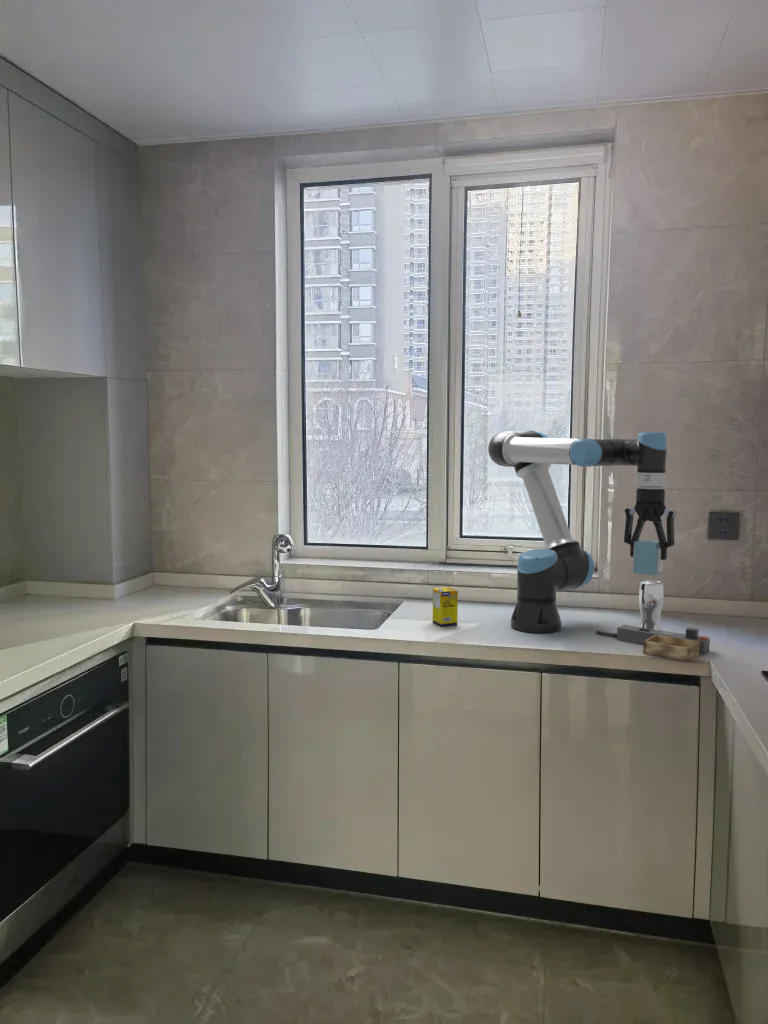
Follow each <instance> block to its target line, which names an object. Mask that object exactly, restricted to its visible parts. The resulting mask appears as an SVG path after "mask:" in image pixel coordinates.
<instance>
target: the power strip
mask: <svg viewBox="0 0 768 1024" xmlns="http://www.w3.org/2000/svg"><path fill="white" fill-rule="evenodd" d="M699 631H700V629H699V628H695V627H690V626H688V627H687V628H685V633H680V632H674V631H667V630H661V629H660V630H655V629H648V628H642V627H640V626H634V625H629V624H623V625H621V626H618V627H617V630H616V632H617V633H613V632H609V631H602V630H595V634H596V635H602V636H606V637H607V636H608V637H613V638H616V641H622V642H628V643H632V644H633V643H634V644H639V645H643V643H644V641H645V640H646V639H648V638H650V637H652V636H653V635H662V636H668V637H674V638H680V639H686V640H692V641H699V642H700V654H699V655H704V656H705V654H707V653H709V651H710V646H711V645H710V644H711V643H710V641H711V639H710V637H708V636H705V635H704V636H703V635H700V636H699Z"/></svg>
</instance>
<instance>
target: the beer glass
mask: <svg viewBox="0 0 768 1024" xmlns="http://www.w3.org/2000/svg"><path fill="white" fill-rule="evenodd" d="M638 603H639V604H638V606H639V611H640V612H639V613H640V624H639V627H642V628H648V629H655V630H661V626H660V624H661V623H660V622H661V621H660V619H661V614H662V610H663V605H664V582H662V581H660V580H659V581H658V580H652V579H651V582H650V583H649V579H646V582H644V580H640V581H639V589H638Z"/></svg>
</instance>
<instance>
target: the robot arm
mask: <svg viewBox="0 0 768 1024" xmlns="http://www.w3.org/2000/svg"><path fill="white" fill-rule="evenodd" d="M637 435H638V436H637V438H636V439H631V438H630V439H627V438H626V439H624V438H622V439H621V438H612V439H611V438H607V439H606V438H605V439H601V438H600V439H595V438H561V437H560V438H559V437H558V438H557V437H555V438H554V437H551V438H549V437H548V436H547V434H545V433H543V432H541V431H536V430H526V431H525V430H522V431H520V430H503V431H500V432H498V433H496V434H495V435H493V436H492V437H491V439H490V441H489V443H488V448H487V450H488V451H487V453H488V455H489V458H490V459H491V460H492V462H493V463H494V464H496V465H498V466H501V467H508V468H509V467H511V468H514V471H515V473H516V476H517V477H518V478H520V479H522V480H523V482H524V487H525V490H526V491H527V496H528V498H529V500H530V504H531V508H532V509H533V513H534V515H535V519H536V521H537V524H538V527H539V530H540V533H541V536H542V539H543V542H544V545H545V548H539V549H529V550H526V551H524V552H522V553H520V554H519V556H518V558H517V560H518V561H517V567H516V569H517V576H516V577H517V578H516V579H517V583H516V585H517V586H516V588H517V590H516V595H517V596H516V603H515V606H514V609H513V611H512V614H511V618H510V627H511V628H512V629H514V630H517V631H520V632H525V633H535V634H537V633H538V634H547V633H548V634H550V633H554V632H558V631H560V630H561V629H562V619H561V617H560V612H559V609H558V605H557V592H558V591H563V590H564V591H565V590H571V589H572V590H573V589H574V590H575V589H578V588H582V587H584V586H586V585H587V584H588V583H590V582H591V580H592V578H593V575H594V573H595V562H594V559H593V556H592V555H591V554H590V553H589V552H588V551H586V550H584V549H582V548H581V545H580V543H579V541H578V540H577V539H574V538H573V537H572V535H571V531H570V527H569V525H568V523H567V519H566V517H565V514H564V511H563V509H562V506H561V503H560V500H559V497H558V495H557V492H556V488H555V485H554V482H553V481H552V478H551V475H550V472H549V469H550V468H551V466H552V465H565V466H566V465H569V466H579V467H585V468H588V467H589V468H590V467H605V466H606V467H610V466H611V467H617V466H625V467H627V466H633V467H636V486H637V487H638V488H637V489H636V494H635V501H636V503H635V505H634V507H627V508H625V509H624V513H625V528H624V536H623V542H624V543H625V544H628V545H629V547H630V553H629V554H630V557H631V558H632V559H633V560H632V561H633V562H632V567H633V566H634V541H638V540H640V537H641V534H642V532H643V528H644V525H645V523H646V522H647V521H649V522H653V523H652V524H653V525H654V529H655V532H656V536H657V538H658V541H659V543H660V548H658V554H657V572H661V571H662V572H663V570H664V561H665V560H667V557H668V548H670V547H674V546H675V516H676V510H670V509H667V508H666V506H665V505H666V504H665V502H666V497H665V496H666V489H664V487H666V464H667V463H666V462H667V453H668V451H667V450H668V446H667V435H666V433H665V432H663V431H662V432H659V431H657V432H655V431H652V432H651V431H650V432H649V431H648V432H647V431H646V432H643V431H642V432H639V434H637ZM635 513H636V514H637V516H638V518H637V521H636V525H635V528H634V531H633V525H634V515H635ZM662 516H665V517H666V535H665V531H664V526H663V521H662Z"/></svg>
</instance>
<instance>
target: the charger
mask: <svg viewBox="0 0 768 1024" xmlns="http://www.w3.org/2000/svg"><path fill="white" fill-rule="evenodd" d="M658 548H660V543H659V540H655V539H646V538H645V539H642V538H641V539H639V540H638V541H634V566H633V565H632V570H633V571H632V573H633V574H638V575H643V581H644V582H646V580H647V575H648V580H649V583H650V582H651V580H652V576H657V575H659V574H661V573H662V572H663V571H661V572H657V554H658Z"/></svg>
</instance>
